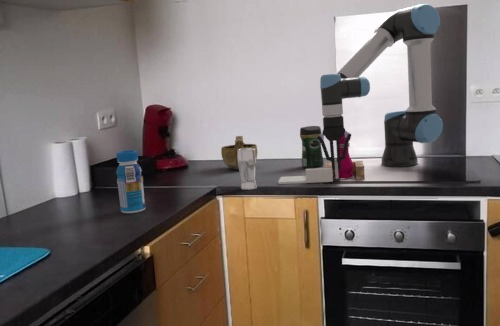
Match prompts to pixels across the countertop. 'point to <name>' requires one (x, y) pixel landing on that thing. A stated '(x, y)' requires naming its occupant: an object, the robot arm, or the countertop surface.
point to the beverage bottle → (130, 182)
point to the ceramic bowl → (235, 152)
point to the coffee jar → (311, 147)
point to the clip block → (357, 169)
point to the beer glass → (247, 168)
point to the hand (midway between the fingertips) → (337, 178)
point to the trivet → (292, 180)
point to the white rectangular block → (319, 175)
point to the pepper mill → (345, 161)
